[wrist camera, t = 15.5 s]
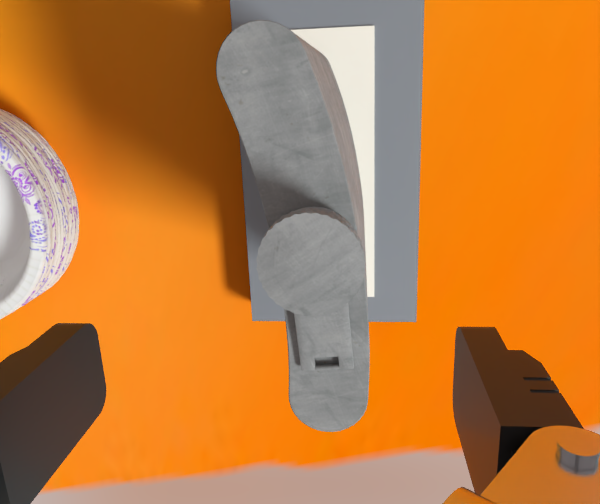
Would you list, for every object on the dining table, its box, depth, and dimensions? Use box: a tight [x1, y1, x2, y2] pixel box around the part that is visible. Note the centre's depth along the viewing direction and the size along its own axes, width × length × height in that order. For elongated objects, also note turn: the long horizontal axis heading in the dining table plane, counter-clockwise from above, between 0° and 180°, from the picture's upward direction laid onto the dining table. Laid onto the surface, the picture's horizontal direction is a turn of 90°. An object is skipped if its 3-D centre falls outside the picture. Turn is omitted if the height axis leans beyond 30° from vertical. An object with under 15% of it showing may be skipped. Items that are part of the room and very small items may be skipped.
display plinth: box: [230, 0, 424, 322], centre depth 38 cm, size 22×12×3 cm, turn 2°
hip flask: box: [216, 20, 370, 432], centre depth 27 cm, size 16×4×20 cm, turn 11°
